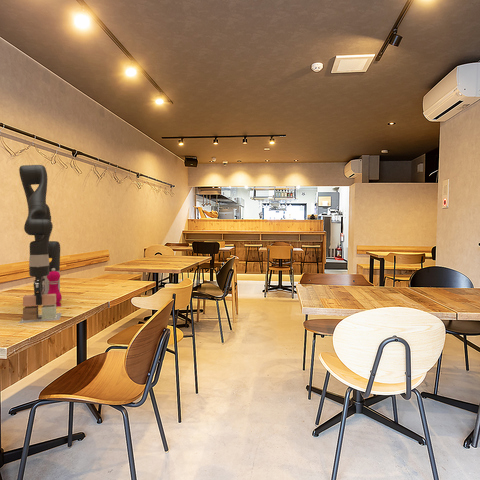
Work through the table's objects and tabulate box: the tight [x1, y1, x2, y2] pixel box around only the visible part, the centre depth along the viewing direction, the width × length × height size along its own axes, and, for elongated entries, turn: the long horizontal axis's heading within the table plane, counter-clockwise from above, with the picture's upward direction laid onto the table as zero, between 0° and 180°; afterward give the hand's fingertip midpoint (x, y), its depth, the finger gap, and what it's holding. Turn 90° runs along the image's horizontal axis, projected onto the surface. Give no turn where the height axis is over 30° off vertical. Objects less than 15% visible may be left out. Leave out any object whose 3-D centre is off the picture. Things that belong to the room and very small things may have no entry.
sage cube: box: [41, 304, 57, 319], centre depth 150 cm, size 5×5×5 cm
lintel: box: [22, 294, 56, 307], centre depth 148 cm, size 12×4×4 cm, turn 109°
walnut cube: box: [22, 306, 39, 321], centre depth 147 cm, size 5×5×5 cm
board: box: [18, 312, 63, 324], centre depth 149 cm, size 12×15×1 cm
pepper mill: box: [47, 268, 63, 308], centre depth 173 cm, size 7×7×20 cm
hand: (39, 303), depth 148 cm, fingers closed on lintel, 4 cm apart
